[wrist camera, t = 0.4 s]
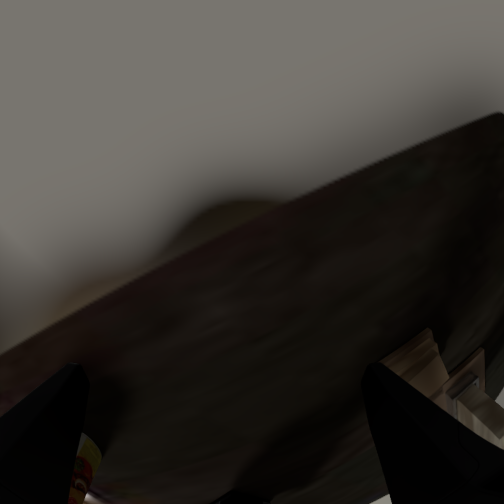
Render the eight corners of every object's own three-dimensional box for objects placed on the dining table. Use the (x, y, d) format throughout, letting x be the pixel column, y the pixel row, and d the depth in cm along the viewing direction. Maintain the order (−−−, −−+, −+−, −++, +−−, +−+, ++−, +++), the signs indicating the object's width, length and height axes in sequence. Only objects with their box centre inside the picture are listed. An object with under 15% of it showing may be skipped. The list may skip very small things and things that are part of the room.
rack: (404, 451, 29) (412, 462, 26) (373, 364, 25) (384, 377, 23) (481, 392, 28) (491, 400, 26) (473, 289, 25) (487, 295, 23)
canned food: (61, 455, 26) (30, 510, 14) (42, 416, 25) (0, 473, 13) (108, 469, 26) (84, 533, 15) (92, 430, 25) (55, 501, 13)
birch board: (452, 413, 27) (495, 458, 16) (450, 392, 26) (499, 439, 16) (468, 400, 27) (512, 441, 16) (466, 378, 26) (518, 421, 16)
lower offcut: (393, 400, 26) (399, 407, 24) (382, 370, 25) (389, 378, 23) (435, 369, 25) (443, 375, 24) (429, 338, 25) (437, 343, 23)
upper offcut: (405, 404, 24) (411, 411, 23) (391, 383, 23) (398, 391, 22) (441, 371, 24) (449, 377, 22) (430, 347, 23) (439, 353, 22)
